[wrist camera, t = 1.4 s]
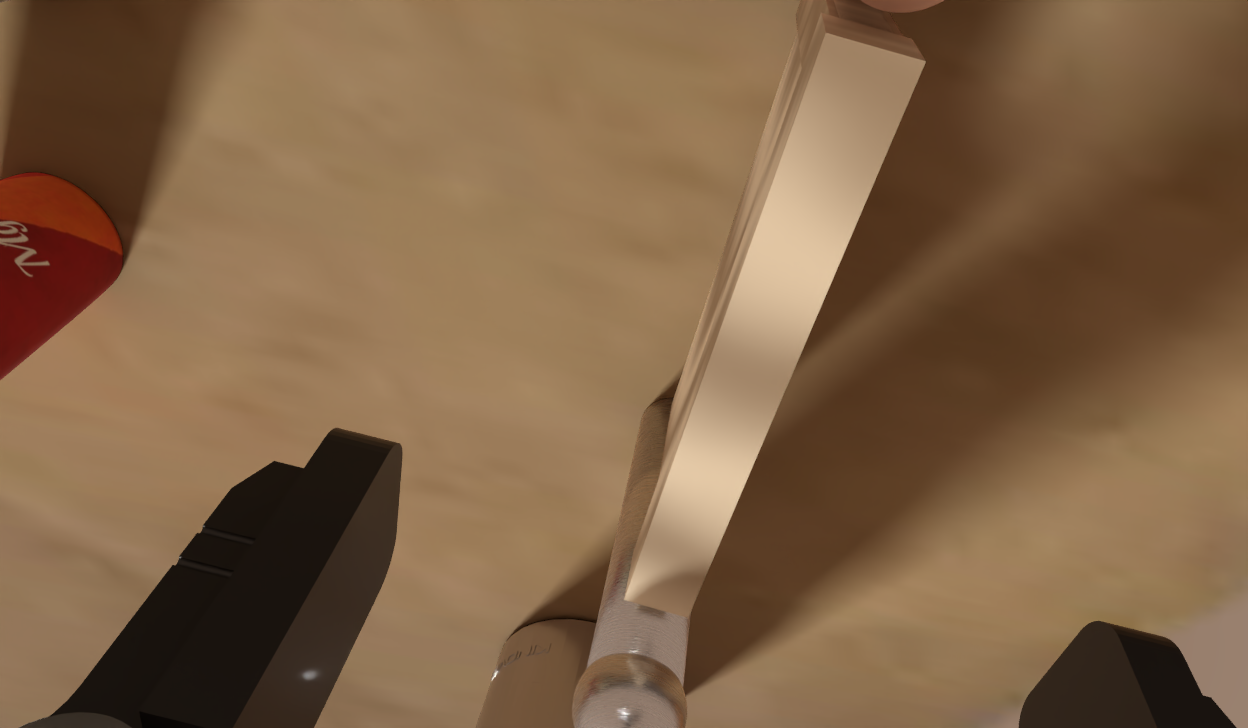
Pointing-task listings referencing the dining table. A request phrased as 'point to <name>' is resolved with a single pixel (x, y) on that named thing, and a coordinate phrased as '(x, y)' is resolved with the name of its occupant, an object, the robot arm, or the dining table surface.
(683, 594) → the light wood flat panel
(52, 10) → the dining table surface
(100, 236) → the paper cup
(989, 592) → the dining table surface
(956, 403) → the dining table surface
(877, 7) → the post
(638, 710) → the hinge post
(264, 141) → the dining table surface
